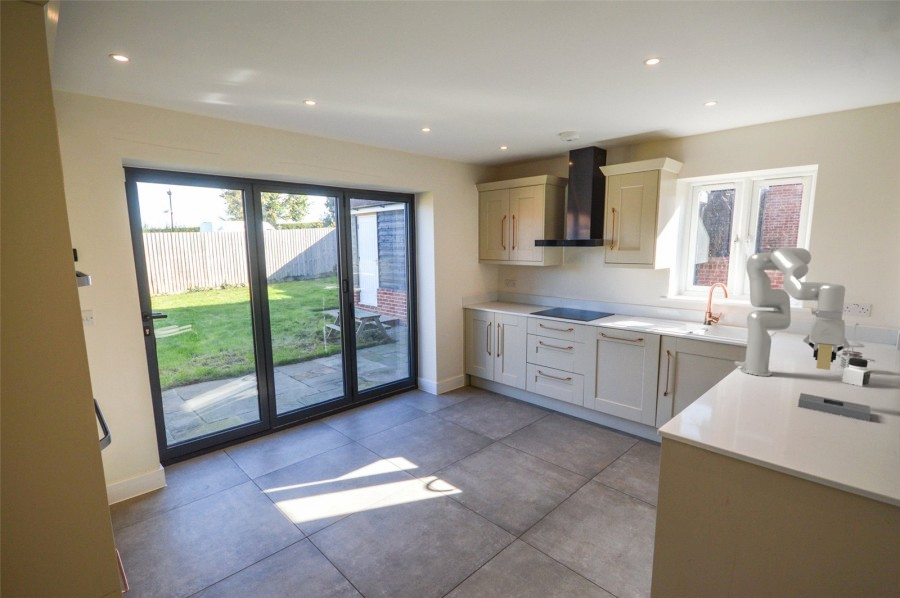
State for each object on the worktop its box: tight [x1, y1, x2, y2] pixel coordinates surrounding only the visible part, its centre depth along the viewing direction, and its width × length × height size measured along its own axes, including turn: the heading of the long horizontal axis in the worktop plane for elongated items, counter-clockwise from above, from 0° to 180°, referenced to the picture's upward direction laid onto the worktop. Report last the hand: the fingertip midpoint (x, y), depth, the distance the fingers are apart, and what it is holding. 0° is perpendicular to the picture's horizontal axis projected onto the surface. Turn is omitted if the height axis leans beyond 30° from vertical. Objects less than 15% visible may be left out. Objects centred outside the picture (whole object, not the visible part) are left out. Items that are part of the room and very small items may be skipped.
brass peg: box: [816, 343, 833, 371], centre depth 165 cm, size 4×4×10 cm
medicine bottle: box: [841, 358, 872, 387], centre depth 190 cm, size 7×7×12 cm
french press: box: [837, 322, 865, 372], centre depth 210 cm, size 10×12×25 cm
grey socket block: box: [797, 392, 871, 422], centre depth 160 cm, size 20×10×3 cm, turn 46°
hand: (824, 360), depth 165 cm, fingers closed on brass peg, 4 cm apart
